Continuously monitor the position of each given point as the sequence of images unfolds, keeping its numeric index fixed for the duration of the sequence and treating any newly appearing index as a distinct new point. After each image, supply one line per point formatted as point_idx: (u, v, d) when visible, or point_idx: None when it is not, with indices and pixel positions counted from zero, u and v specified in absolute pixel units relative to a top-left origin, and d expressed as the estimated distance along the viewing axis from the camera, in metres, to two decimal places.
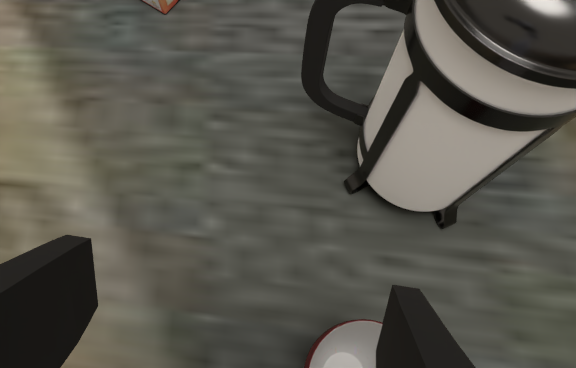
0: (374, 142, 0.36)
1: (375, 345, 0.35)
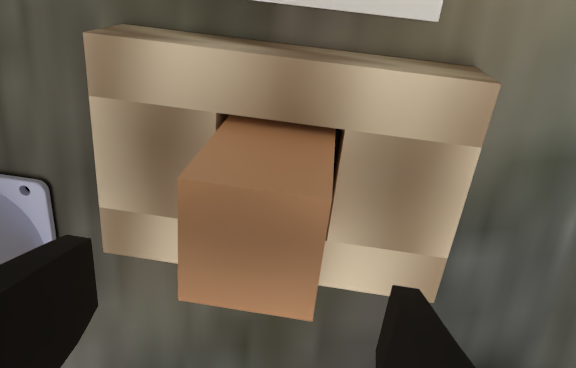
0: None
1: None
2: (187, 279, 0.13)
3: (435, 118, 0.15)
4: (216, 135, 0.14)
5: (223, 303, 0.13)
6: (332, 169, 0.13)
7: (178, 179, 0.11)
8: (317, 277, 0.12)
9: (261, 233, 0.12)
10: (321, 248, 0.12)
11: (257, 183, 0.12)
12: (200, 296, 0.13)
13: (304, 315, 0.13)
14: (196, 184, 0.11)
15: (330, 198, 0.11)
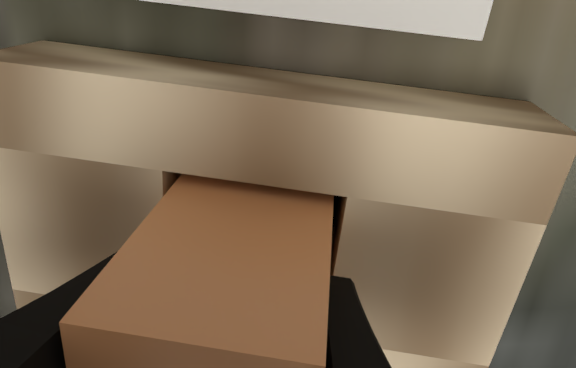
0: None
1: None
2: None
3: (479, 183, 0.10)
4: (155, 213, 0.10)
5: None
6: (327, 281, 0.08)
7: (60, 325, 0.07)
8: None
9: None
10: None
11: (199, 328, 0.07)
12: None
13: None
14: (92, 333, 0.07)
15: (322, 362, 0.06)
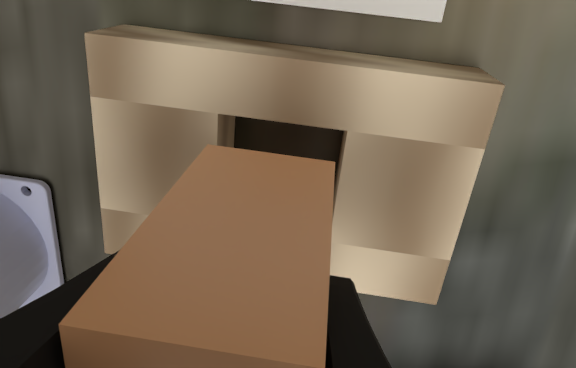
0: None
1: None
2: None
3: (438, 119, 0.15)
4: (155, 215, 0.10)
5: None
6: (327, 283, 0.08)
7: (60, 327, 0.07)
8: None
9: None
10: None
11: (199, 331, 0.07)
12: None
13: None
14: (92, 335, 0.07)
15: (322, 364, 0.06)
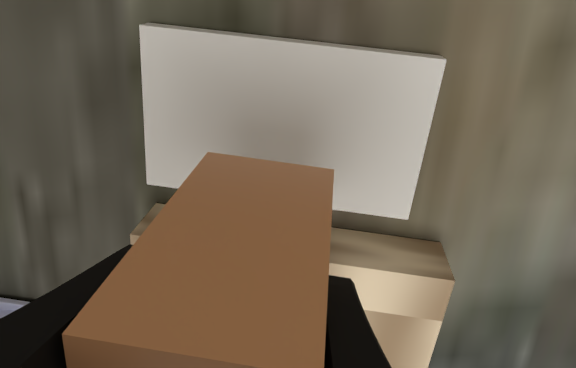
0: None
1: None
2: None
3: (405, 300, 0.19)
4: (156, 223, 0.10)
5: None
6: (326, 292, 0.08)
7: (63, 336, 0.07)
8: None
9: None
10: None
11: (199, 340, 0.07)
12: None
13: None
14: (94, 344, 0.07)
15: None
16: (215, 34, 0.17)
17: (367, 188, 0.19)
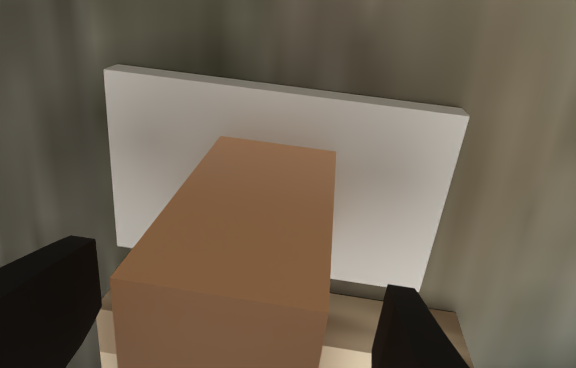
0: None
1: None
2: None
3: None
4: (179, 195, 0.11)
5: None
6: (330, 250, 0.10)
7: (111, 279, 0.08)
8: None
9: (230, 351, 0.08)
10: None
11: (224, 283, 0.08)
12: None
13: None
14: (137, 286, 0.08)
15: (326, 309, 0.08)
16: (193, 82, 0.15)
17: (372, 257, 0.17)
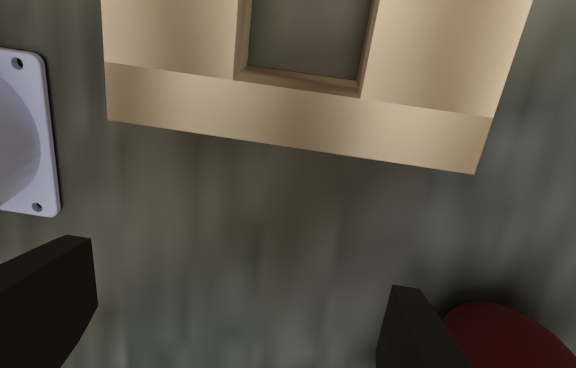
0: None
1: None
2: None
3: None
4: None
5: None
6: None
7: None
8: None
9: None
10: None
11: None
12: None
13: None
14: None
15: None
16: None
17: None
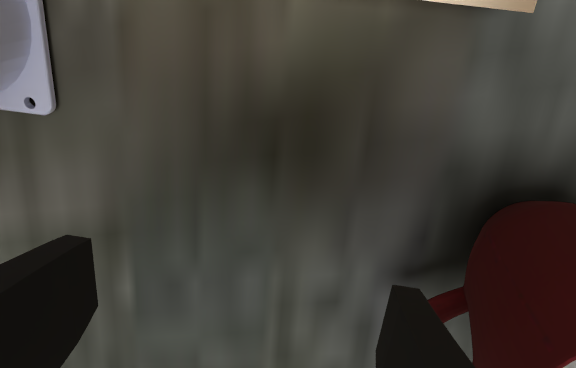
0: None
1: None
2: None
3: None
4: None
5: None
6: None
7: None
8: None
9: None
10: None
11: None
12: None
13: None
14: None
15: None
16: None
17: None
